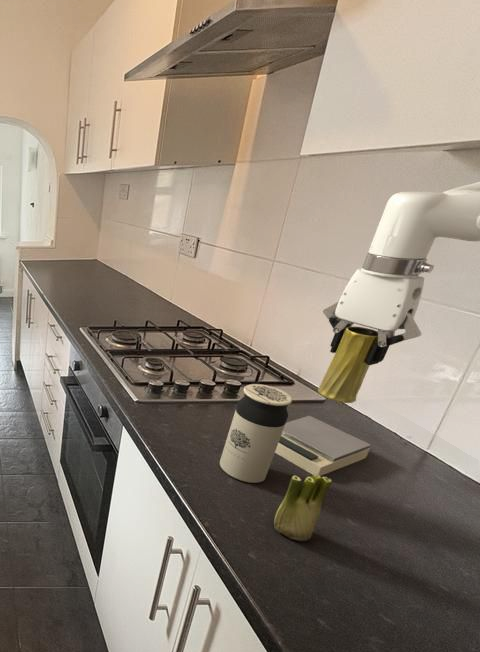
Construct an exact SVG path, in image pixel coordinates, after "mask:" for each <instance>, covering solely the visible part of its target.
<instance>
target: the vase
mask: <svg viewBox="0 0 480 652" xmlns="http://www.w3.org/2000/svg"><path fill="white" fill-rule="evenodd" d="M377 343H378V330H376V329H373V328H369V327H364V326H354V325H352V326H351V327H347V328H346V330H345V332H344V334H343V337H342V339H341V341H340V344H339V346H338V348H337V351H336V353H334V355H333V357H332V359H331V361H330V364H329V366H328V368H327V370H326V373H325V375H324V376H323V378H322V380H321V382H320V384H319V387H318V388H317V392H318V394H320V396H322V397H323V398H326V399H328V400H330V401H333V402H338V403H342V404H351V403H352V404H353V403H355V402H356V401H357V397H358V394H359V391H360V390H361V387H362V385H363V382H364V380H365V377H366V375H367V373H368V370H369V368H370V366H371V365H367V364H366V360H367V358H368V356H369V353H370V351H371V349H372V346H373V345H377Z"/></svg>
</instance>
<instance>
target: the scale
mask: <svg viewBox="0 0 480 652" xmlns="http://www.w3.org/2000/svg"><path fill="white" fill-rule="evenodd" d="M370 450H371V447H370V448H368V449H365V450H363V451H360V452H357V453H355V454H352V455H349V456H347V457H344V458H342V459H339V460H336V461H334V462H333V461H331V460H329V459H327V458H325V457H324V456H322V455H320V454H318V453H316V452H314V451H312V450H311V449H309V448H307V447H305V446H303V445H301V444H299V443H298V442H296V441H294V440H292V439H290V438H288V437H286V436H284V435H283V434H281V437H280V440H279V442H278V445H277V448H276V451H275V453H274V454H276V455H278V456H280V457H281V458H283V459H285V460H287V461H288V462H290V463H291V464H294V465H295V466H297V467H299V469H302V470H304V471H306V472H307V473H309V474H311V475H312V476H313V474H316V475H319V476H321V477H323V476H324V475H327V474H329V473H332V472H334V471H337V470H339V469H342V468H345V467H346V466H350V465H352V464H355V463H357V462H360V461H362V460H364V459H366V458H367V456H368V455H369V453H370Z"/></svg>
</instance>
